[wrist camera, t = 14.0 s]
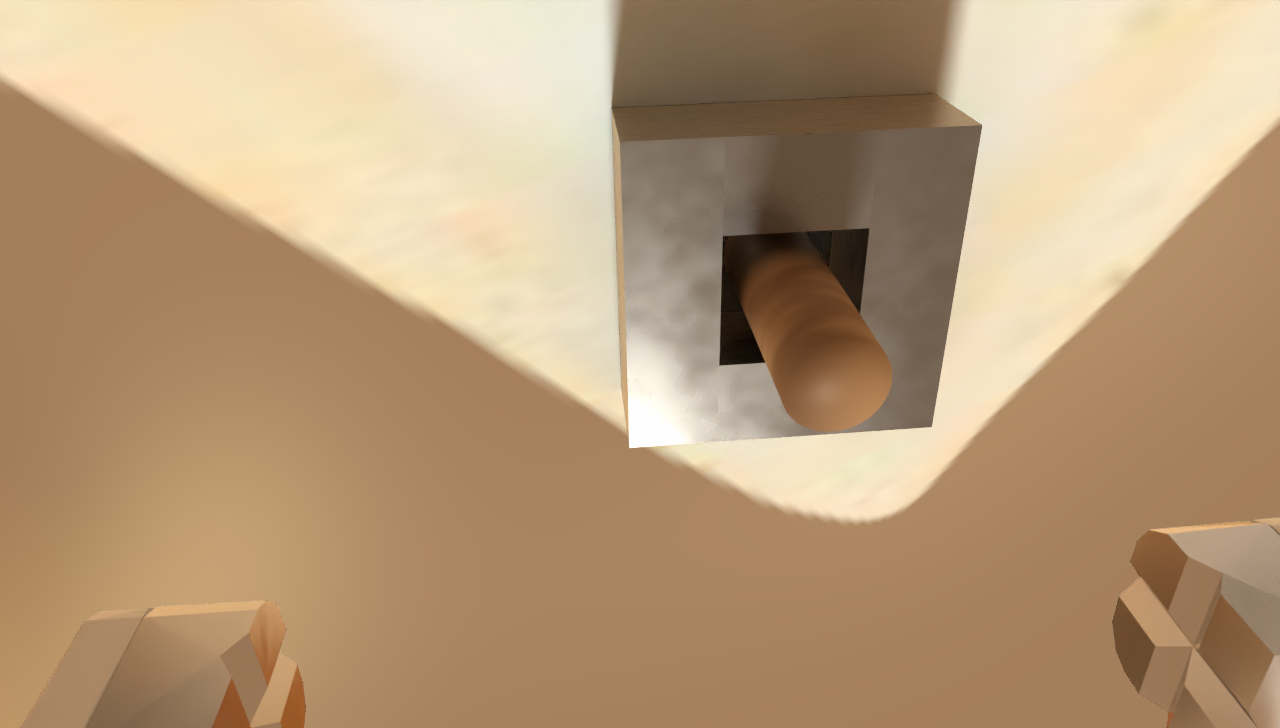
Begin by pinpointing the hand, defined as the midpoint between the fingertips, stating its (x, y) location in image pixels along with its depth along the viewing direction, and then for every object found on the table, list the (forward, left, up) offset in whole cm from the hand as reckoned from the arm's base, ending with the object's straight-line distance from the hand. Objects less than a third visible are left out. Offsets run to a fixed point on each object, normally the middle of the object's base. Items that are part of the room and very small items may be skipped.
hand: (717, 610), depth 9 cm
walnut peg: (-8, +11, -33) cm, 35 cm away
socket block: (-8, +11, -33) cm, 35 cm away
